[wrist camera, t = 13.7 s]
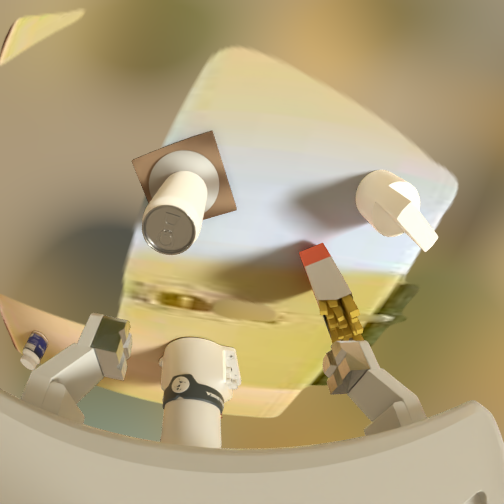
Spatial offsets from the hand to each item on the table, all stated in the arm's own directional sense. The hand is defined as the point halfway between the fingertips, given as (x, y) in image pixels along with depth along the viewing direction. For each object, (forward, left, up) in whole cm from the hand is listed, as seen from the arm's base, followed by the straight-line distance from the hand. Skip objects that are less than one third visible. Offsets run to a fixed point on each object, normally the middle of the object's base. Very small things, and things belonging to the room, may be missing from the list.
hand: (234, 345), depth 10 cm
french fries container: (-21, -9, -31) cm, 39 cm away
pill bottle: (-24, +62, -31) cm, 74 cm away
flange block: (-1, +7, -31) cm, 32 cm away
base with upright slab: (-11, -22, -31) cm, 40 cm away
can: (-2, +7, -30) cm, 31 cm away
